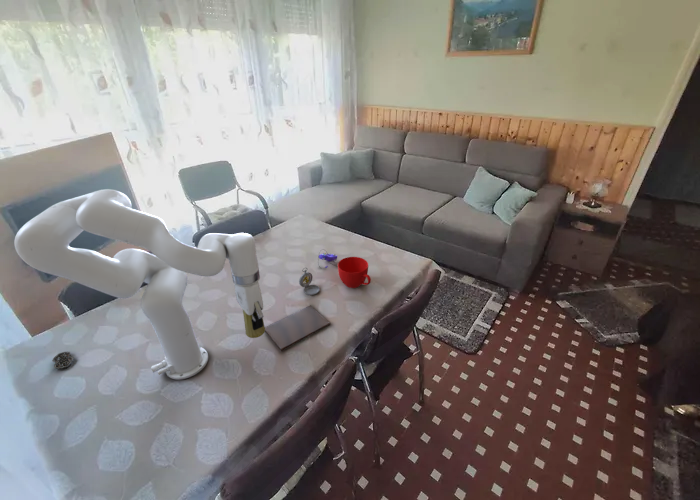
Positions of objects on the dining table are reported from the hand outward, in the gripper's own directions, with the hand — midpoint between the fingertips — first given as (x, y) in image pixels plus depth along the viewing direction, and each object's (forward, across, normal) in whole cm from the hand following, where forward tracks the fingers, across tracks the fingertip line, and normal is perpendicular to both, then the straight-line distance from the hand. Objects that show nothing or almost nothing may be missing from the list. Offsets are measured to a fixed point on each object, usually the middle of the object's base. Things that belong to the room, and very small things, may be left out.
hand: (253, 322), depth 102 cm
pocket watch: (+13, -18, +32) cm, 38 cm away
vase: (+4, 0, 0) cm, 4 cm away
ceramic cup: (+12, -8, +49) cm, 51 cm away
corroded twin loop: (+14, -36, -51) cm, 64 cm away
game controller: (+12, -29, +50) cm, 59 cm away
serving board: (+13, -2, +16) cm, 20 cm away
